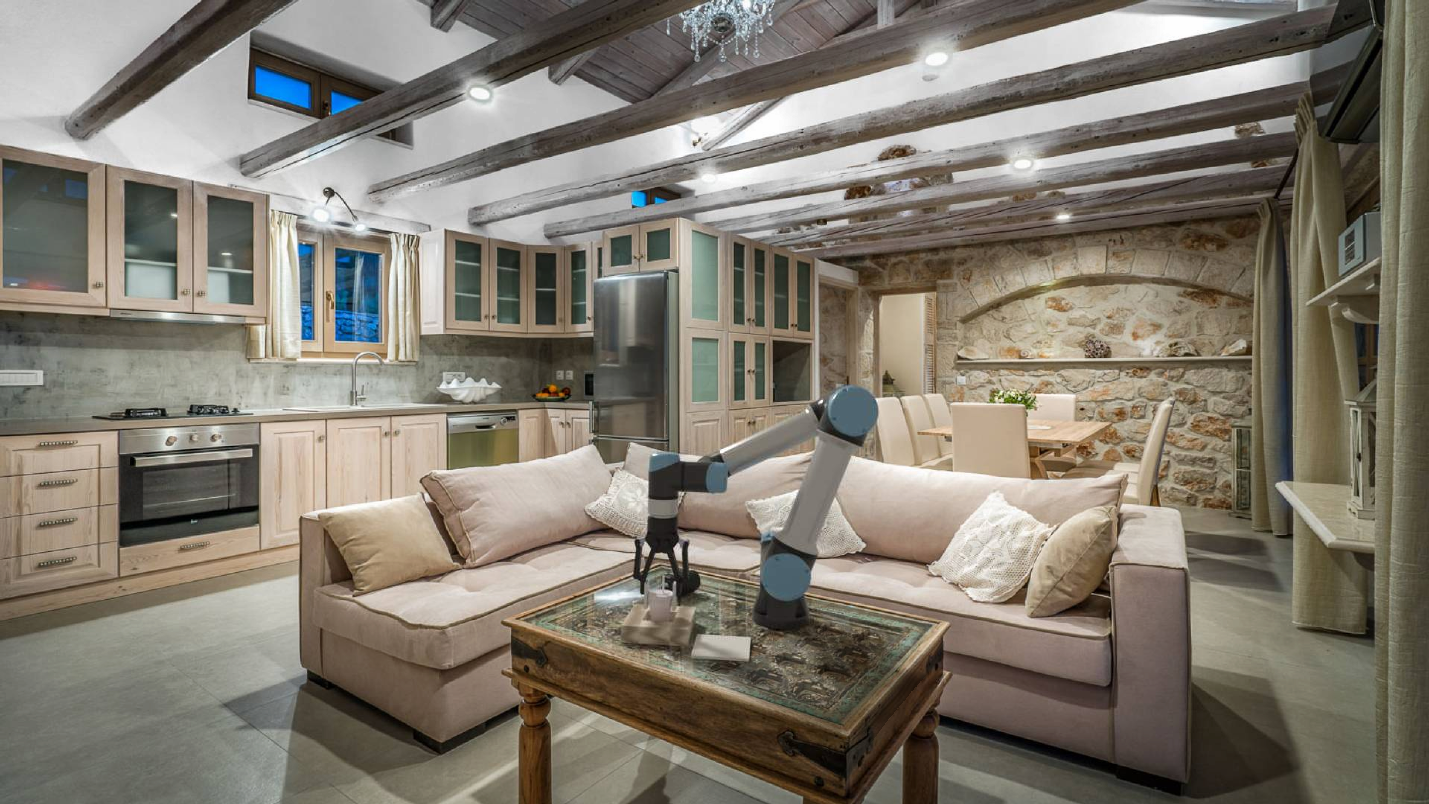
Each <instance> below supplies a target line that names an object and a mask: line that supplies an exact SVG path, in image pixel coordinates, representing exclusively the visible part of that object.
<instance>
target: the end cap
mask: <svg viewBox="0 0 1429 804" xmlns="http://www.w3.org/2000/svg"><path fill="white" fill-rule="evenodd" d="M679 570H680V573H681V576H683V569H679ZM663 575H665V581H664V584H667V586H665V585H664V590H669V591H672V592H673V583H674V581H675V577H674V574H673V573H670V572H669V573H664V574H663ZM660 576H661V579H660V581H661V582H662V575H660ZM701 584H702V582H701V577H700V574H699V572H698V571H696V570H695V569H691V570H689V579H688V581H687V582H682V590H681V595H680V597H683V596H686V595H689V594H692V593H695V592H696V591H697V590H699V589H700V587H701ZM660 589H662V585H660ZM680 597H679V596H677V598H680Z"/></svg>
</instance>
